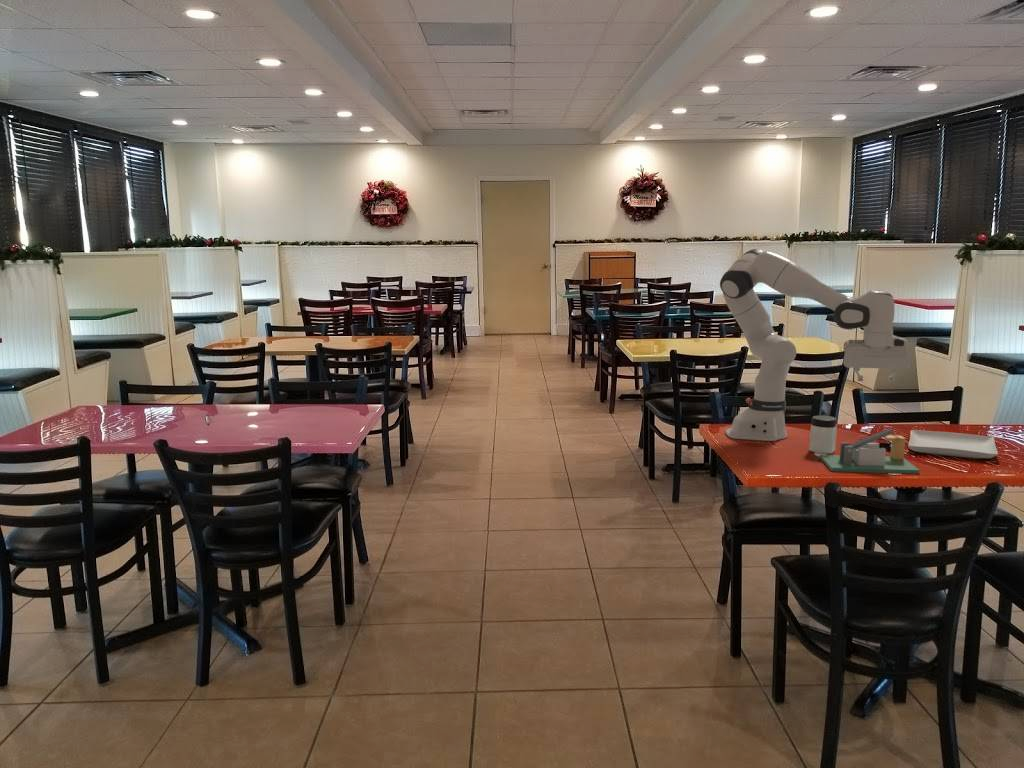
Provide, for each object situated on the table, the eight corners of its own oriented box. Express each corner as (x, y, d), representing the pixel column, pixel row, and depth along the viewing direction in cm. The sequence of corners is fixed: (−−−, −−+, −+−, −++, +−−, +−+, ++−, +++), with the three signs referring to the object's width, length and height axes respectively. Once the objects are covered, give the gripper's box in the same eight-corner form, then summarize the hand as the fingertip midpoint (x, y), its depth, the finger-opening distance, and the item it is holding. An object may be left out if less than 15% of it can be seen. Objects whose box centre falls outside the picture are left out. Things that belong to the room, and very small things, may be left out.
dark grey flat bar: (845, 452, 262) (844, 449, 262) (843, 449, 265) (841, 447, 265) (893, 433, 259) (892, 430, 259) (890, 431, 262) (889, 428, 262)
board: (831, 471, 258) (833, 450, 256) (819, 458, 273) (820, 438, 272) (919, 473, 254) (921, 452, 253) (901, 460, 270) (903, 440, 269)
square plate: (992, 445, 289) (994, 435, 289) (997, 464, 266) (998, 453, 265) (910, 437, 302) (910, 427, 301) (907, 454, 278) (908, 444, 278)
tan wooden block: (885, 459, 267) (887, 438, 265) (881, 456, 271) (883, 435, 269) (903, 459, 266) (905, 438, 265) (899, 456, 270) (901, 435, 269)
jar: (840, 452, 280) (843, 419, 278) (823, 455, 277) (826, 421, 275) (820, 446, 288) (822, 414, 286) (804, 449, 285) (806, 416, 283)
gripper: (844, 340, 262) (842, 382, 264) (913, 341, 256) (910, 383, 258) (842, 338, 268) (841, 378, 270) (909, 339, 262) (907, 380, 264)
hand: (875, 381), depth 264 cm, fingers open, 8 cm apart
